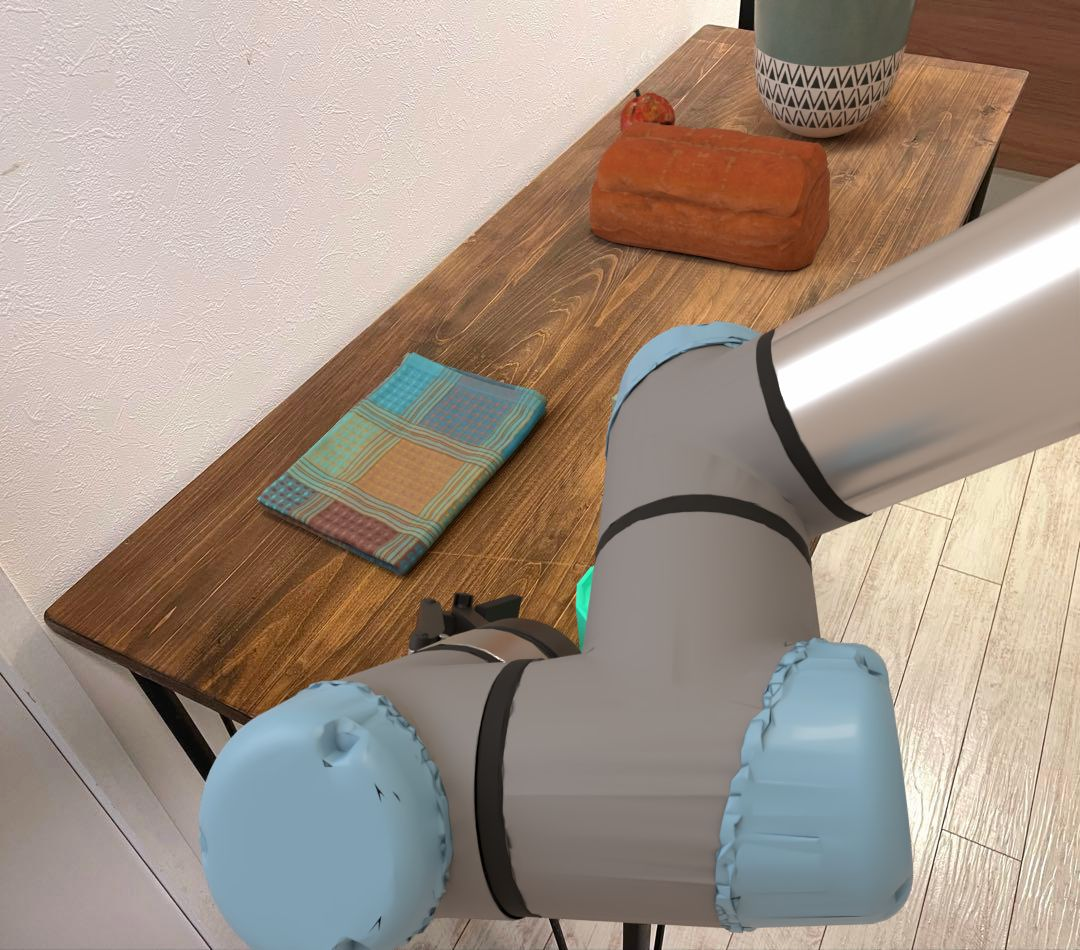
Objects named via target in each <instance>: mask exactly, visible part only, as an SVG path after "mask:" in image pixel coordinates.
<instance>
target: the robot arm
mask: <svg viewBox="0 0 1080 950" xmlns="http://www.w3.org/2000/svg"><path fill="white" fill-rule="evenodd" d="M617 393H618V397H617V401H616V405H615V407H614V410H613V412H612V411H611V414H610V417H609V422H608V426H607V430H606V436H605V451H604V458H605V471H604V481H603V488H602V489H603V491H602V497H601V498H602V499H601V508H600V516H599V526H598V533H597V535H598V536H597V544H596V550H595V553H594V563H593V566H594V569H593V576H592V584H591V591H590V598H589V606H588V613H587V621H586V628H585V635H584V643H583V649H582V652H581V651H580V647H578V646H577V645H576V643H574V641H572V639H570V638H569V637H568V636H567V634H564V633H563V632H562V631H560V630H559V629H557V628H556V627H554V626H551V625H549V624H548V623H545V622H542V621H539V620H537V619H531V618H526V617H525V618H524V617H519V615H520V610H521V605H522V601H523V596H521V595H517V594H513V593H511V594H508V595H505V596H501V597H498V598H494V599H491V600H488V601H486V602H481V603H479V604H475V606H473V604H474V598H475V595H473V594H471V593H466V592H462V591H461V592H460V591H457V592H454V595H453V599H452V606H451V610H444V609H442V608H443V607H442V604H441V602H440V601H438V600H436V599H435V598H432V597H425V598H422V599H420V602H419V606H418V611H417V618H416V623H415V627H414V630H413V631H411V633H410V636H409V642H408V647H407V650H406V651H407V652H406V655H404V656H401V657H398V658H396V659H393V660H390V661H387V662H384V663H382V664H379V665H375V666H373V667H371V668H367V669H364V670H362V671H360V672H356V673H354V674H353V673H352V674H351V675H348V676H345V677H343V678H339V679H337V680H321V681H317V682H313V683H311V684H309V686H308V687H307V688H304V689H301V690H300V691H298V692H297V693H296V694H295V695H294V696H292V697H291V698H289V699H286V700H284V701H282V702H281V703H279V704H277V705H275V706H274V707H272V708H270V709H268V710H266V711H264V712H262V713H260V714H258V715H257V716H255V717H254V718H252V719H251V720H249V721H247V723H245V724H244V725H243V726H241V728H239V729H238V730H237V731H236V732H235V733H234V735H232V736H231V738H230V739H229V740H228V741H227V742H226V744H224V746H223V747H222V749H221V751H220V752H219V754H218V755H217V756H216V758H215V760H214V762H213V764H212V766H211V768H210V770H209V772H208V775H207V776H206V780H205V783H204V787H203V790H202V793H201V797H200V802H199V809H198V830H199V831H198V843H199V847H200V857H201V859H200V860H201V867H202V871H203V874H204V877H205V881H206V883H207V887H208V890H209V893H210V896H211V898H212V900H213V901H214V904H215V905H216V907H217V910H218V912H219V913H220V915H221V916H222V918H223V919H224V921H225V923H226V924H227V925H228V927H229V928H230V929H231V930H232V932H233V933H234V934H235V936H237V937H238V939H239V940H240V941H241V942H243V943H244V944H245V945H246V947H248V948H249V949H250V950H396V949H397V948H399V949H402V948H403V947H404V946H406V945H408V944H409V943H410V942H411V941H412V939H414V938H415V936H416V935H420V934H423V933H424V932H425V930H426V929H427V928H428V926H429V925H430V924H431V921H432V920H435V919H457V920H458V919H459V920H483V921H504V922H505V921H506V922H507V921H508V922H514V921H519V920H523V919H525V918H537V919H542V918H543V919H550V920H551V919H552V920H570V921H571V920H572V921H590V922H605V923H606V922H607V923H608V922H609V923H625V924H639V925H640V924H645V925H657V926H658V925H659V926H661V925H662V926H675V927H676V926H677V927H678V926H679V927H696V928H713V929H714V928H715V929H725V930H726V931H728V932H729V933H734V934H744V932H746V933H752V932H754V931H756V930H757V929H766V928H769V929H771V928H797V927H799V928H800V927H825V926H826V927H828V926H829V927H830V926H862V925H875V924H878V923H881V922H885V921H888V920H889V919H891V918H892V917H894V916H896V915H897V914H898V913H899V912H900V911H901V910H902V909H903V908H904V906H905V904H906V903H907V901H908V899H909V897H910V895H911V892H912V889H913V883H914V860H913V858H914V857H913V847H912V837H911V827H910V819H909V818H910V817H909V808H908V800H907V793H906V792H907V791H906V783H905V777H904V768H903V761H902V753H901V744H900V739H899V733H898V726H897V720H896V719H897V718H896V711H895V704H894V699H893V696H892V695H893V694H892V691H891V688H890V677H889V672H888V668H887V665H886V661H885V660H884V659H883V657H882V656H881V655H880V653H878V652H877V651H876V650H875V649H873V648H872V647H869V646H868V645H866V644H862V643H858V642H837V641H829V640H828V639H826V638H824V637H822V635H821V629H820V621H819V614H818V613H819V612H818V605H817V598H816V591H815V583H814V576H813V564H812V558H811V541H812V540H813V539H814V538H818V537H820V536H822V535H825V534H827V533H829V532H833V531H835V530H837V529H840V528H842V527H846V526H847V525H850V524H853V523H856V522H858V521H861V520H863V519H867V518H869V517H871V516H873V514H875V513H876V512H879V511H881V510H884V509H887V508H889V507H892V506H894V505H898V504H900V503H902V502H905V501H908V500H911V499H913V498H916V497H918V496H921V495H924V494H927V493H929V492H932V491H934V490H937V489H939V488H942V487H945V486H947V485H949V484H952V483H955V482H958V481H960V480H963V479H965V478H969V477H971V476H973V475H976V474H979V473H981V472H984V471H987V470H989V469H991V468H994V467H998V466H999V465H1002V464H1005V463H1007V462H1009V461H1012V460H1015V459H1017V458H1021V457H1023V456H1026V455H1028V454H1031V453H1033V452H1036V451H1038V450H1039V451H1040V450H1041V449H1044V448H1046V447H1050V446H1052V445H1054V444H1057V443H1059V442H1062V441H1065V440H1067V439H1071V438H1073V437H1075V436H1078V435H1080V162H1079V163H1077V164H1075V165H1073V166H1071V167H1070V168H1068V169H1065V170H1064V171H1062V172H1059V174H1057V175H1055V176H1052V177H1051V178H1049V179H1048V180H1046V181H1043V182H1042V183H1040V184H1038V185H1036V186H1035V187H1032V188H1031V189H1029V190H1027V191H1025V192H1023V193H1022V194H1019V195H1018V196H1016V197H1014V198H1012V199H1010V200H1009V201H1006V202H1004V203H1003V204H1001V205H998V207H995V208H993V209H992V210H990V211H988V212H986V213H984V214H982V215H981V216H979V217H977V218H975V219H973V220H972V221H970V222H968V223H966V224H964V225H961V226H960V227H958V228H956V229H954V230H953V231H951V232H949V233H947V234H945V235H943V236H941V237H940V238H938V239H936V240H934V241H933V242H930V243H929V244H927V245H925V246H923V247H921V248H920V249H917V250H915V251H914V252H912V253H910V254H908V255H906V256H904V257H903V258H901V259H899V260H898V261H896V262H893V263H892V264H890V265H888V266H886V267H884V268H882V269H881V270H879V271H877V272H876V273H873V274H871V275H869V276H867V277H866V278H864V279H862V280H860V281H858V282H856V283H854V284H853V285H850V286H849V287H847V288H846V289H843V290H842V291H840V292H837V293H836V294H835V295H832V296H830V297H829V298H827V299H825V300H823V301H821V302H819V303H817V304H816V305H814V306H812V307H810V308H808V309H807V310H804V311H803V312H801V313H799V314H797V315H795V316H794V317H792V318H790V319H787V320H786V321H784V322H782V323H780V324H779V325H778V326H776V327H774V328H772V329H771V330H768V331H767V332H763V333H760V332H759V331H757V330H755V329H752V328H750V327H748V326H745V325H742V324H737V323H734V322H731V321H721V320H713V321H711V322H710V323H698V324H690V325H687V324H680V325H677V326H674V327H671V328H669V329H667V330H665V331H663V332H661V333H659V334H657V335H656V336H654V337H653V338H651V339H650V340H649V341H647V342H646V343H645V344H644V345H643V346H642V347H641V348H640V349H639V350H638V351H637V352H636V353H635V354H634V356H633V357H632V358H631V359H630V361H629V362H628V364H627V366H626V369H625V371H624V372H623V374H622V377H621V380H620V383H619V388H618V392H617Z"/></svg>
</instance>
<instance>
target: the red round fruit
mask: <svg viewBox="0 0 1080 950" xmlns="http://www.w3.org/2000/svg"><path fill="white" fill-rule="evenodd" d="M632 93H634V94H635V97H633V98H631V99H629V101H627V102H626V104H624V107H623V108H622V110H621V113H620V119H619V122H620V133H621V132H622V131H623V130H624V129H626V128H627V127H628V126H630V125H631V124H632V123H634V122H635V121H639V122H650V123H660V124H661V125H672V126H675V123H676V113H675V110H674V108H673V106H672V104H671V103H670V102H669V101H668V100H667V99H666V98H665V97H663V96H662V95H659V94H657V93H655V92H645V93H643V94H641V91H640V89H639V88H636V89H635V90H633V91H632Z"/></svg>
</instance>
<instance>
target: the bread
mask: <svg viewBox="0 0 1080 950" xmlns="http://www.w3.org/2000/svg"><path fill="white" fill-rule="evenodd" d="M828 164H829V161H828V155H827V152H826V148H825V147H823V146H822V145H821V144H819V143H818V142H809V141H802V140H795V139H791V138H783V137H776V136H767V135H753V134H750V133H746V132H744V131H740V130H734V129H725V128H718V127H704V128H693V127H687V126H681V125H674V126H672V125H661V124H660V123H650V122H639V121H635V122H634V123H632V124H631V125H630V126H628V127H627V128H626V129H624V130H623V131H622V132H621V131H620V133H619V135H618V136H617V137H616V139H615V140H614V142H613V143H611V145H610V146H609V147H608V148H607V149H606V150H605V152H604V153H603V155H602V156H601V158H600V159H599V162H598V166H597V169H596V176H595V180H594V182H593V184H592V187H591V192H590V200H589V204H588V205H589V222H590V228H591V232H592V235H594V236H596V237H598V238H601V239H602V240H603V239H604V240H605V241H608V242H611V243H616V244H622V245H626V246H632V247H637V248H645V249H652V250H661V251H667V252H675V253H681V254H686V255H694V256H699V257H703V258H704V257H705V258H710V259H714V260H719V261H723V262H727V263H728V262H729V263H733V264H737V265H742V266H746V267H747V266H748V267H752V268H753V267H754V268H760V269H766V270H773V271H796V270H799V269H801V268H803V267H806V266H808V265H810V264H812V263H813V261H814V258H815V255H816V253H817V250H818V248H819V246H820V244H821V242H822V241H823V239H824V237H825V236H826V234H827V232H828V230H829V228H830V196H831V195H830V193H831V173H830V170H829V167H828Z"/></svg>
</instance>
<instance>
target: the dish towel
mask: <svg viewBox="0 0 1080 950" xmlns="http://www.w3.org/2000/svg"><path fill="white" fill-rule="evenodd" d="M548 403H549V400H548V398H547V397H546V396H545V395H543V394H542V393H541V392H539V391H537V390H536V389H532V388H528V387H524V386H519V385H515V384H511V383H508V382H507V383H506V382H503V381H500V380H496V379H493V378H491V377H487V376H484V375H480V374H477V373H475V372H474V373H473V372H469V371H465V370H461V369H459V368H455V367H452V366H449V365H446V364H443V363H440V362H436V361H434V360H431V359H428V358H427V357H424V356H422V355H420V354H418V353H416V352H412V353H410V352H407V353H406V354H405V356H404V357H403V359H402V361H401V363H400V365H399V366H398V367H397V368H396V369H395V370H394V371H393V372H392V373H391V374H390V375H389V376H388V377H386V378H385V379H384V381H382V382H380V383H379V385H377V387H376V388H374V389H373V390H372V391H371V392H370V393H368V394H367V395H366V396H365V397H364V398H363V399H361V400H360V401H359V402H358V403H357V404H355V405H354V406H353V407H352V408H351V409H350V410H349V411H348V412H347V413H346V414H344V415H343V417H342V418H341V419H340V420H339V421H336V423H335V425H332V427H331V428H330V429H329V430H328V432H326V433H325V434H324V435H323V436H322V437H320V439H319V440H318V441H316V442H315V443H314V445H312V446H311V447H310V448H309V449H308V450H307V451H306V452H305V453H304V454H302V456H301V457H299V458H298V459H297V460H295V462H294V463H293V464H292V465H291V466H290V467H289V468H288V469H287V470H286V471H285V472H283V473H282V474H281V475H280V477H279V478H277V479H276V480H274V481H273V482H272V483H271V484H269V486H267V487H266V488H265V489H264V490H263V491H262V492H261V494H260V495H259V496H258V497H257V501H258V506H259V507H260V508H261V509H262V510H263V511H265V512H267V513H269V514H271V515H273V516H275V517H278V518H279V519H281V520H284V521H285V522H288V523H290V524H292V525H295V526H296V527H300V528H301V529H304V530H306V531H307V532H309V533H312V534H313V535H316V536H318V537H319V538H322V539H323V540H326V541H329V542H330V543H331V544H334V545H336V546H338V547H340V548H342V549H344V550H346V551H348V552H350V553H352V554H355V555H357V556H358V557H361V558H363V559H365V560H366V561H368V562H371V563H373V564H375V565H376V566H379V567H382V568H384V569H386V570H387V571H391V572H393V573H394V574H395V575H398V576H400V577H404V575H406V574H407V573H408V571H410V569H412V567H413V566H414V565H415V564H416V563H417V562H418V561H420V559H421V558H422V557H423V556H424V554H426V552H427V551H428V550H429V549H430V548H431V547H432V546H433V544H434V543H435V542H436V541H437V540H438V539H439V538H440V536H441V535H442V534H443V533H444V532H445V531H446V529H447V528H448V526H449V525H450V524H451V523H452V522H453V520H454V519H455V518H456V517H458V515H459V513H461V511H462V510H463V509H465V508H466V506H467V504H468V503H470V502H471V500H472V499H473V498H474V497H475V495H476V494H477V493H478V492H480V490H481V489H482V488H483V487H484V485H485V484H486V483H487V482H489V480H490V479H491V478H492V477H493V476H494V475H495V474H496V472H497V471H498V470H500V468H501V467H502V466H503V465H504V464H505V463H506V462H507V460H508V459H509V458H510V457H511V456H512V455H513V454H514V453H515V452H516V450H518V448H519V447H520V445H521V444H522V443H523V442H524V441H525V439H526V438H527V437H528V436H529V435H530V433H531V431H532V430H533V429H534V428H535V426H536V424H537V423H538V422H539V420H541V418H542V417H543V416H544V415H545V414H546V413H547V406H548Z"/></svg>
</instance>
